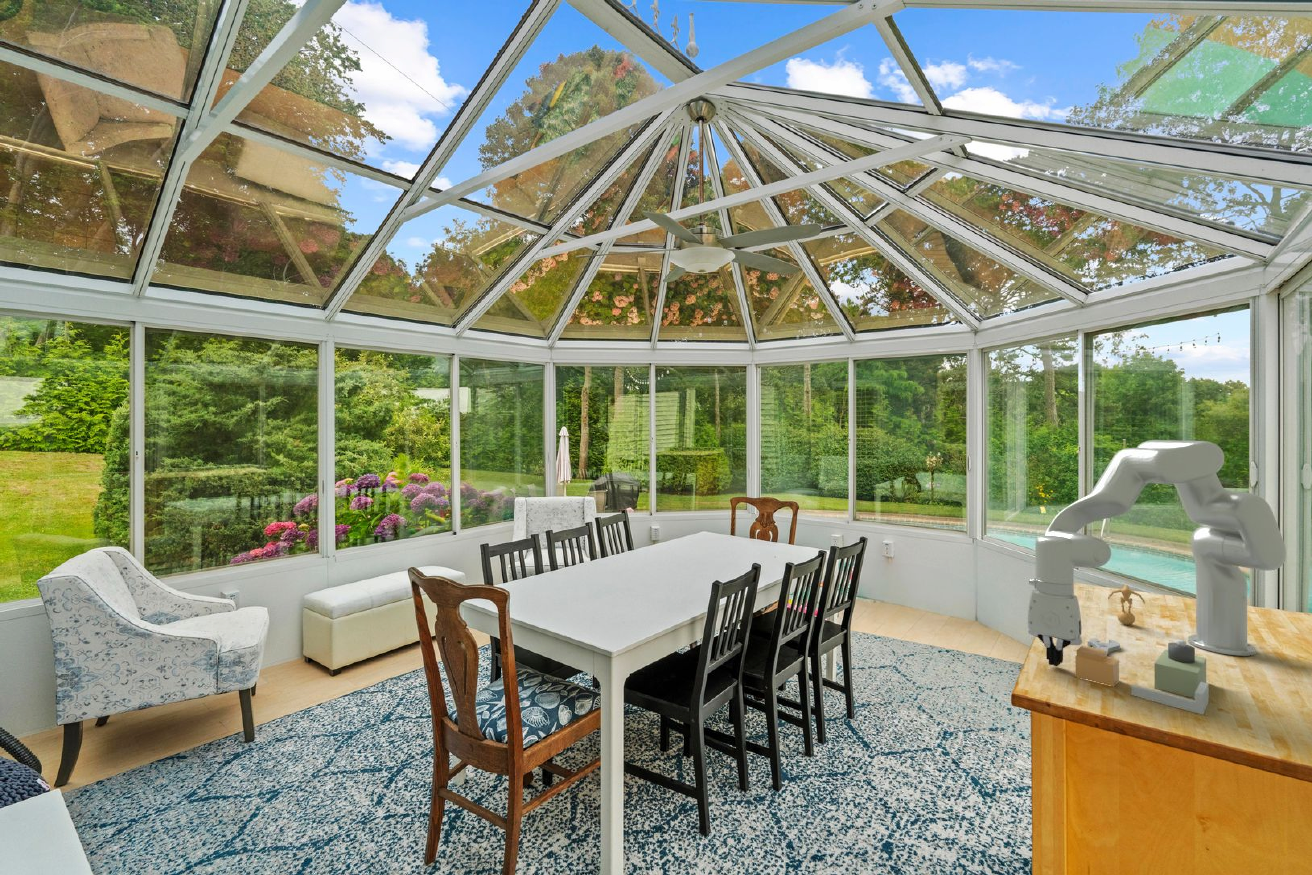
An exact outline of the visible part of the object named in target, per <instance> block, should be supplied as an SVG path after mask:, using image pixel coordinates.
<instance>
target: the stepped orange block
mask: <svg viewBox="0 0 1312 875" xmlns="http://www.w3.org/2000/svg"><path fill="white" fill-rule="evenodd" d="M1074 660H1075V661H1074V662H1075V664H1074V665H1075V678H1076V677H1079V678H1082V679H1081V680H1083V679H1088V680H1092V681H1096V682H1099V683H1104V684H1107V685H1111V686H1113V687H1114V688H1115V686H1116V685H1117V684H1118V683H1119V682H1118V681H1120V660H1119V659H1118V658H1113V657H1110V656H1107V651H1105V650H1101V649H1096V648H1092V647H1089V646H1088V645H1082V644H1081V645H1080V647H1079V648H1077V649H1076V655H1075V658H1074ZM1079 678H1078V679H1079ZM1117 682H1118V683H1117ZM1116 683H1117V684H1116ZM1115 684H1116V685H1115ZM1114 685H1115V686H1114ZM1113 687H1112V688H1113Z"/></svg>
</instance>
